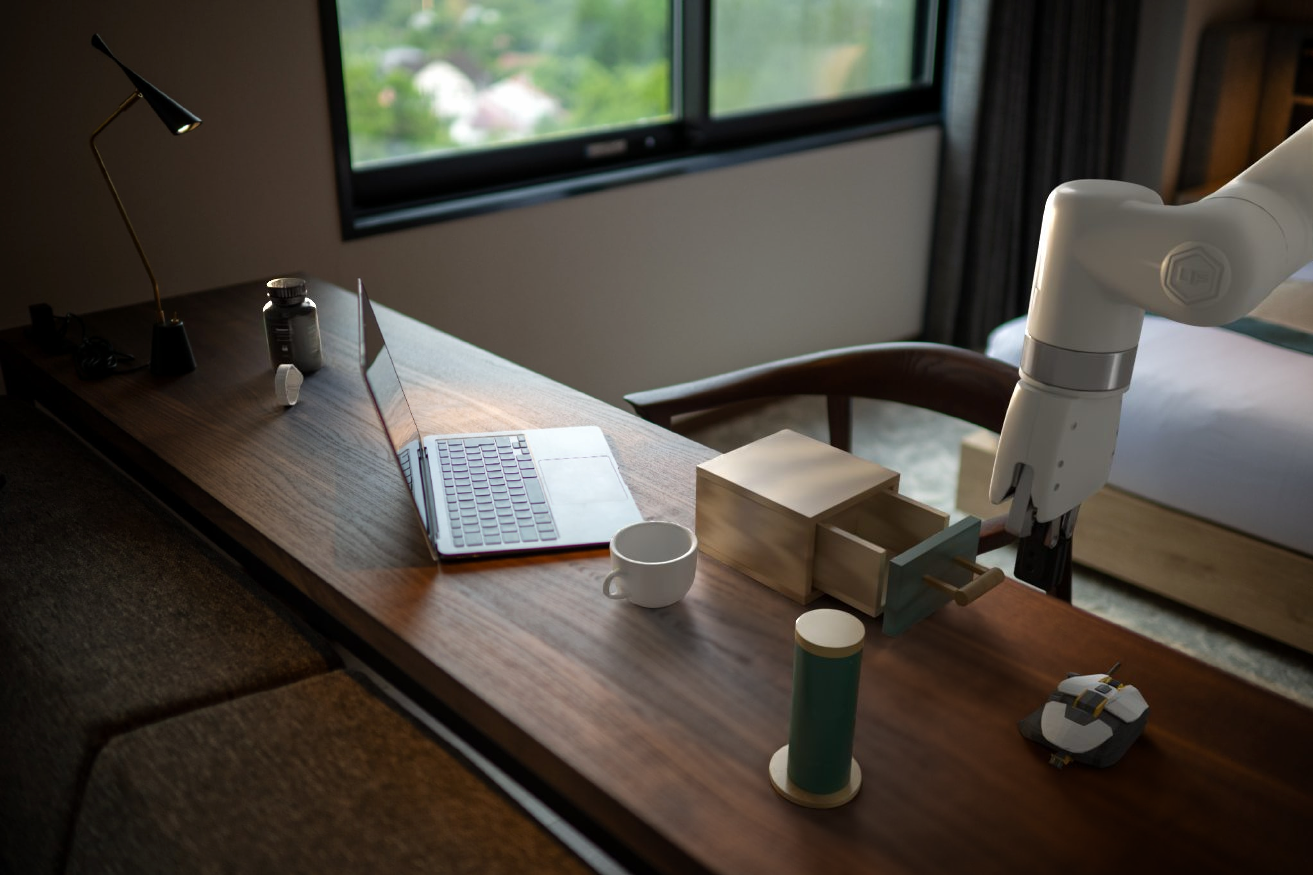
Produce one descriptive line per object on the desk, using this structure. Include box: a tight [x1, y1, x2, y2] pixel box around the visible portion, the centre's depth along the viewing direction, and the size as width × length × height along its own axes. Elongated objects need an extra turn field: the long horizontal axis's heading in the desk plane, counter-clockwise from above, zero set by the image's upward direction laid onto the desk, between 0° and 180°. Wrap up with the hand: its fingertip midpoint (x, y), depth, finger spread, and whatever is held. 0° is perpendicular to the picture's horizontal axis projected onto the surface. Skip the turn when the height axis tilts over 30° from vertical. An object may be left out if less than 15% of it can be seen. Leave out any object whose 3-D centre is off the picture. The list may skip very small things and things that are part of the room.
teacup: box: [602, 520, 699, 609], centre depth 96 cm, size 10×8×5 cm
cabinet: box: [694, 428, 901, 606], centre depth 103 cm, size 14×13×9 cm
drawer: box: [812, 488, 1006, 639], centre depth 95 cm, size 17×12×7 cm
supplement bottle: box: [262, 277, 324, 376], centre depth 147 cm, size 7×7×12 cm
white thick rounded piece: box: [274, 365, 304, 406], centre depth 137 cm, size 3×5×5 cm, turn 1°
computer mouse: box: [1016, 662, 1152, 769], centre depth 81 cm, size 7×15×4 cm, turn 136°
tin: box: [787, 608, 866, 794], centre depth 74 cm, size 4×4×12 cm
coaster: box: [768, 744, 863, 810], centre depth 77 cm, size 6×6×1 cm
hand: (1036, 580), depth 85 cm, fingers closed
